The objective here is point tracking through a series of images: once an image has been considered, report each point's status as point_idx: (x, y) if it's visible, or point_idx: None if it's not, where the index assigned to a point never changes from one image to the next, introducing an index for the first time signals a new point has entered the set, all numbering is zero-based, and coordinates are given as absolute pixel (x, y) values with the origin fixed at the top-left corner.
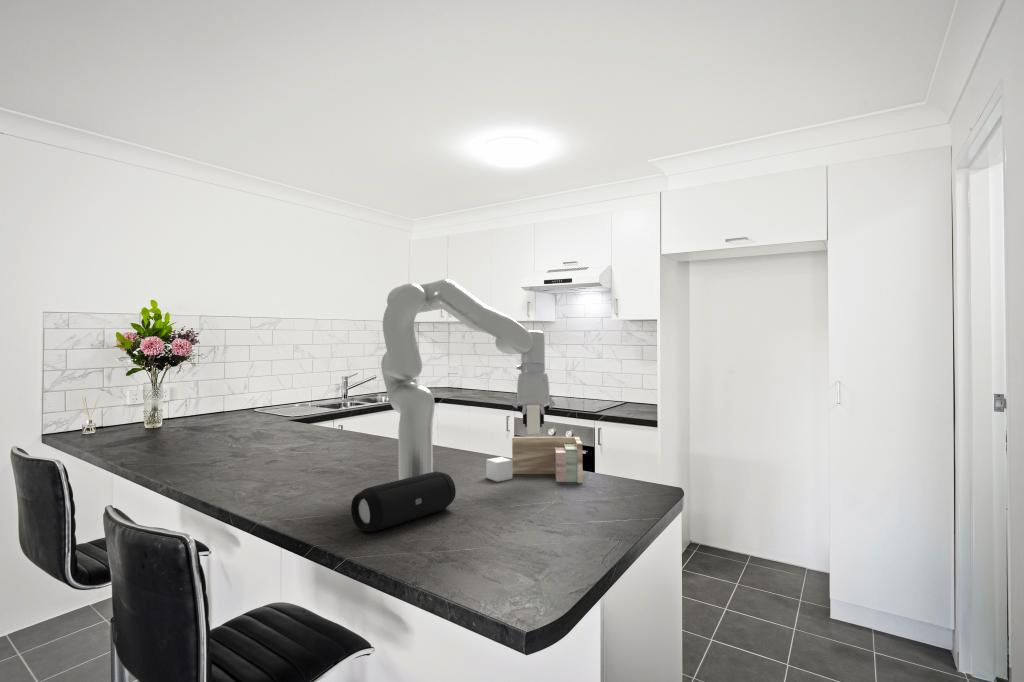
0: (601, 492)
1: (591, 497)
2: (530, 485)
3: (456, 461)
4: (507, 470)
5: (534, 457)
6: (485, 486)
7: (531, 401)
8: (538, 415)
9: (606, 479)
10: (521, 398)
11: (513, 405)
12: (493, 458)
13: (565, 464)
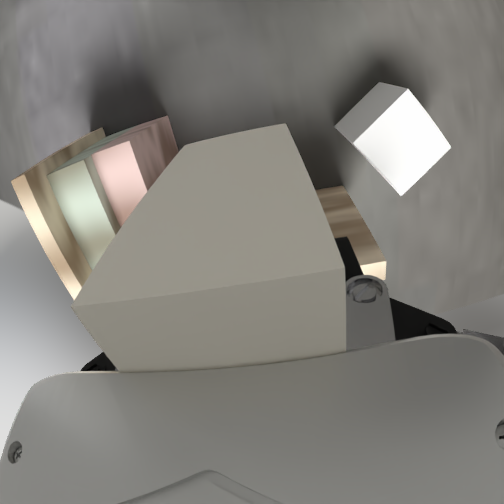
0: (31, 61)
1: (47, 6)
2: (248, 49)
3: (483, 288)
4: (358, 117)
5: None
6: (400, 22)
7: (253, 413)
8: (148, 205)
9: None
10: (482, 424)
11: (498, 343)
12: (428, 165)
13: (114, 139)
